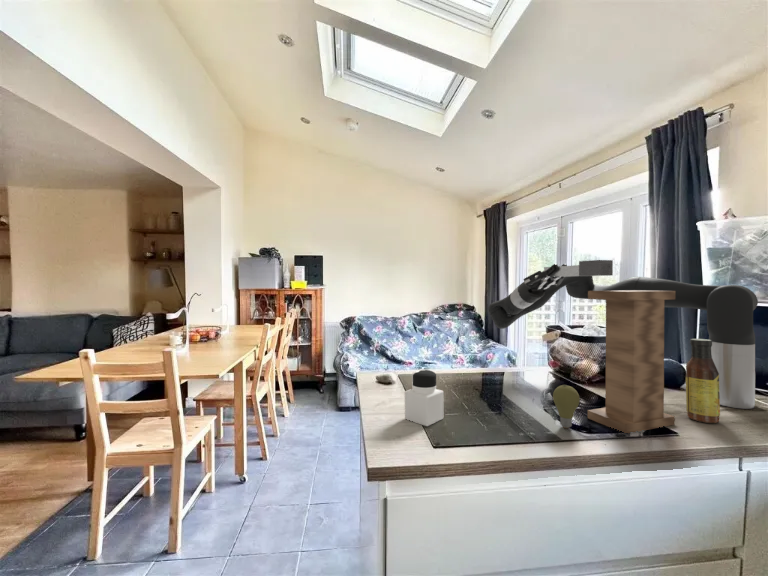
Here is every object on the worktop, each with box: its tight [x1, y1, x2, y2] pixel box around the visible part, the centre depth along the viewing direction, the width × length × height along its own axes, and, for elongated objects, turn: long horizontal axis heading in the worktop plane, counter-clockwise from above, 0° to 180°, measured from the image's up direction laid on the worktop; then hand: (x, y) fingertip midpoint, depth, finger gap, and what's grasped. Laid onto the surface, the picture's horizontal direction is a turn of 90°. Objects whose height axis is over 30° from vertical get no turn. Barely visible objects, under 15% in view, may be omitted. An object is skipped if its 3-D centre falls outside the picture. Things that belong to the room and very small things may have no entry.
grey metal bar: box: [543, 259, 614, 277], centre depth 103 cm, size 5×20×4 cm, turn 19°
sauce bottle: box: [685, 338, 721, 424], centre depth 89 cm, size 7×6×20 cm
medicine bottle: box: [404, 369, 445, 427], centre depth 90 cm, size 7×7×12 cm
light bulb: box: [552, 384, 580, 429], centre depth 84 cm, size 6×6×10 cm
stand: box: [587, 290, 676, 434], centre depth 87 cm, size 16×10×32 cm, turn 109°
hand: (561, 266), depth 107 cm, fingers closed on grey metal bar, 3 cm apart
